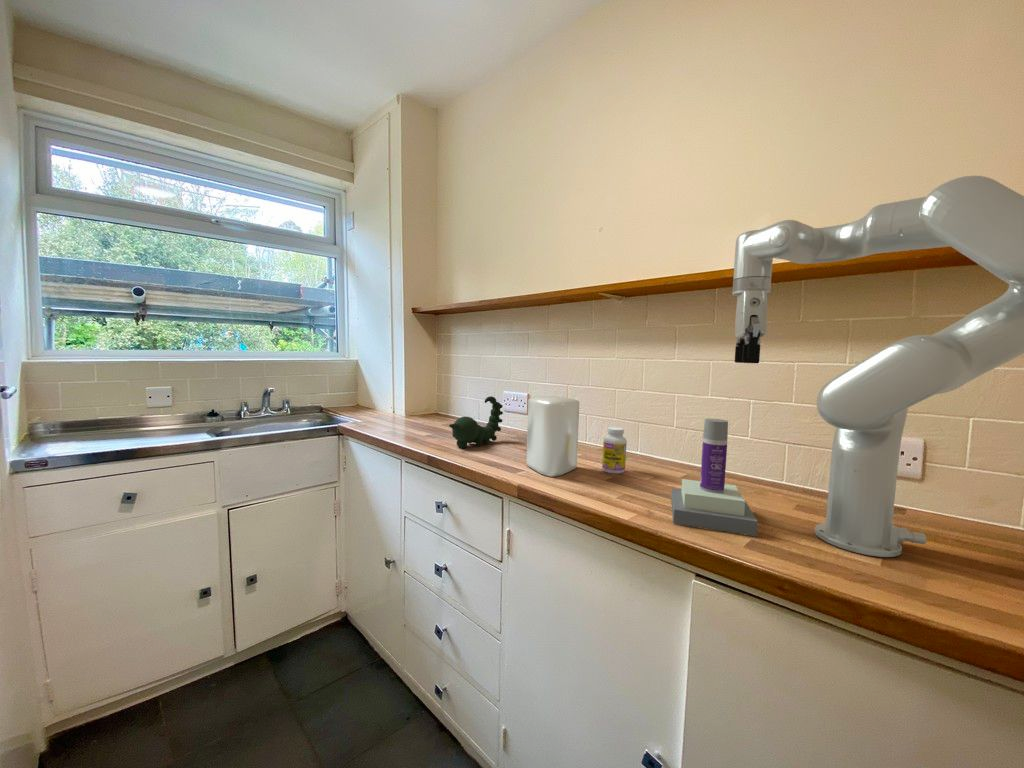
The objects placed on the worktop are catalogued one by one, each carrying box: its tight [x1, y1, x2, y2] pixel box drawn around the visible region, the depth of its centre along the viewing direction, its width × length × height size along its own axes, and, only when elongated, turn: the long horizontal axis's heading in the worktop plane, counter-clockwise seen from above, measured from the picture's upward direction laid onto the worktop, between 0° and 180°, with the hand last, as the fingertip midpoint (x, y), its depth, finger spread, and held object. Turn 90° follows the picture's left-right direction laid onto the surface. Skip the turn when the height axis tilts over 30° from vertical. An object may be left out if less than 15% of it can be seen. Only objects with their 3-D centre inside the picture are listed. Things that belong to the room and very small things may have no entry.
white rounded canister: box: [525, 395, 580, 478], centre depth 120 cm, size 15×14×22 cm
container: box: [699, 418, 729, 493], centre depth 88 cm, size 5×5×15 cm
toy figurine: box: [448, 395, 504, 449], centre depth 151 cm, size 9×19×25 cm
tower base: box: [670, 478, 759, 537], centre depth 88 cm, size 15×15×6 cm
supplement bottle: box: [601, 426, 628, 475], centre depth 122 cm, size 7×7×13 cm
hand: (746, 362), depth 95 cm, fingers open, 9 cm apart
